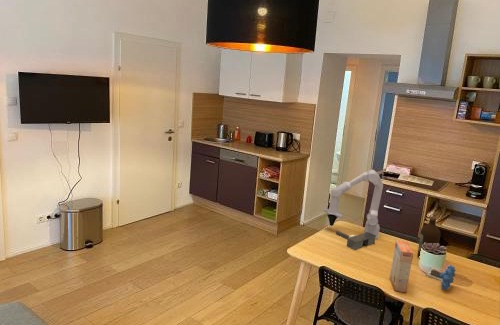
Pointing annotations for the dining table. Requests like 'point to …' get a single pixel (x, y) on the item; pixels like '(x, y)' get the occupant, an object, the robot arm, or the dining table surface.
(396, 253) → the cracker box
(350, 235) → the plug
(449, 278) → the grapes
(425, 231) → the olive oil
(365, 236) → the housing
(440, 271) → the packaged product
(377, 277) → the dining table surface
